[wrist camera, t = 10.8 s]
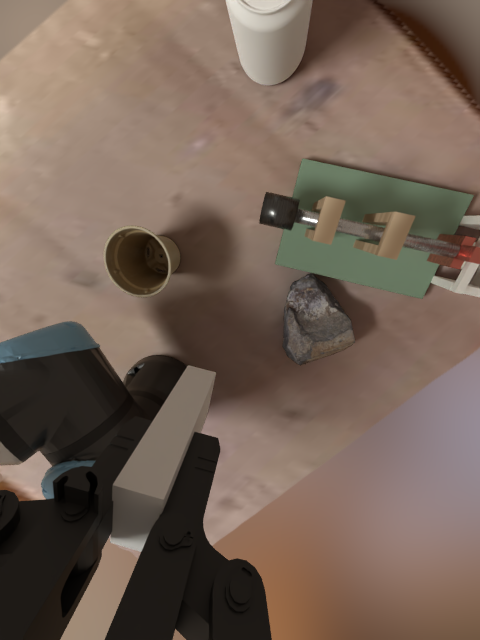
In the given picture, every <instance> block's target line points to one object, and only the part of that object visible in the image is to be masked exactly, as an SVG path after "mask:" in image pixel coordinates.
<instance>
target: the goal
mask: <svg viewBox="0 0 480 640" xmlns="http://www.w3.org/2000/svg"><path fill="white" fill-rule="evenodd" d="M459 226H464V227H469V228H473V229H478V230H480V216H463V218H462V220H461V222H460V224H459ZM475 247H480V237H479V239H478V240H477V242H476V244H475ZM478 266H479V264H476V263H471V262H467V261H466V263H465V265H464V267H463V269H462V270H461V272H460V274H459V276H458V278H457V280H453V279H448V278H444V277H440V276H435V275H434V277H433V279H432V281H431V283H433V284H435V285H438V286H440V287H443V288H445V289H448V290H451V291H453V292H456V293H460V294H468V295H472V296H476V297H480V266H479V268H478ZM477 268H478V270H477ZM476 270H477V271H476ZM475 272H476V273H475ZM474 273H475V275H474ZM473 275H474V277H473ZM472 277H473V279H472ZM471 279H472V280H471ZM470 281H471V282H470ZM469 282H470V283H469Z"/></svg>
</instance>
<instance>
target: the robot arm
mask: <svg viewBox="0 0 480 640" xmlns="http://www.w3.org/2000/svg"><path fill="white" fill-rule="evenodd" d="M99 347H100V345H99V344H97V343H96V342H95V341H94V340H93V338H92V337H91V336H90V334H89V333H88V332H87V330H86V329H85V328H84V327H83V326H82V325H81V324H79V323H77V322H72V321H68V322H62V323H58V324H55V325H51V326H48V327H45V328H42V329H39V330H36V331H33V332H30V333H27V334H24V335H21V336H18V337H15V338H12V339H9V340H6V341H4V342H1V343H0V465H19V464H21V463H23V462H24V461H26V460H27V459H28V458H30V457H31V456H32V455H34V454H35V453H36V452H38V451H40V452H41V453H42V454H43V455H44V456H45V458H46V459H47V460H48V461H49V462H50V464H51V465H52V467H51V468H49V469H48V470H47V472H46V473H45V476H44V478H43V480H42V483H41V487H42V488H43V489H42V492H43V495H44V497H45V498H46V500H33V501H19V500H18V498H17V496H16V495H15V493H13V492H10V491H8V490H0V640H60V639H61V637H62V635H63V633H64V631H65V629H66V627H67V625H68V623H69V621H70V619H71V618H72V616H73V614H74V612H75V610H76V608H77V606H78V604H79V602H80V600H81V598H82V596H83V595H84V592H85V591H86V589H87V587H88V585H89V583H90V581H91V579H92V577H93V575H94V573H95V571H96V570H97V567H98V565H99V562H100V560H101V556H102V549H103V547H104V545H105V543H106V541H107V540H108V538H109V536H110V534H111V541H110V542H111V543H114V544H117V545H120V546H124V547H127V548H130V549H133V550H137V551H140V552H141V554H140V556H139V559H138V561H137V564H136V566H135V568H134V571H133V573H132V576H131V578H130V580H129V583H128V585H127V587H126V590H125V592H124V595H123V597H122V599H121V602H120V604H119V607H118V609H117V611H116V614H115V616H114V619H113V621H112V623H111V626H110V628H109V631H108V633H107V636H106V638H105V640H172V639H173V635H174V631H175V629H176V630H177V631H179V633H180V634H181V635H182V636H183V637H184V638H185V639H186V640H272V638H271V631H270V624H269V616H268V609H267V602H266V594H265V589H264V585H263V582H262V578H261V576H260V575H259V573H258V572H257V570H256V568H255V567H254V566H252V565H251V564H250V563H249V562H247V561H245V560H241V559H233V560H227V559H226V558H225V557H224V556H222V555H221V554H220V553H219V552H218V551H216V550H215V549H214V548H213V547H212V546H211V545H210V543H209V542H208V540H207V538H206V536H205V532H204V529H203V518H204V513H205V509H206V505H207V501H208V497H209V493H210V490H211V486H212V482H213V478H214V474H215V470H216V466H217V462H218V458H219V454H220V445H219V440H218V438H216V437H212V436H208V435H205V434H201V431H202V428H203V425H204V423H205V420H206V417H207V414H208V410H209V405H210V401H211V396H212V391H213V386H214V381H215V376H216V372H213V371H209V370H205V369H201V368H197V367H194V366H190V365H188V366H186V365H184V364H183V363H181V362H180V361H178V360H176V359H173V358H170V357H166V356H149V357H146V358H143V359H141V360H140V361H138V362H137V363H136V364H135V365H134V366H133V367H132V368H131V369H130V370H129V371H128V373H127V374H126V376H125V378H124V381H123V382H122V381H121V379H120V378H119V376H118V375H117V373H116V372H115V370H114V369H113V367H112V366H111V364H110V363H109V361H108V360H107V358H106V357H105V355H104V354H103V352H102V351H101V350H100V348H99Z"/></svg>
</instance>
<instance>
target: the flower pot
mask: <svg viewBox="0 0 480 640" xmlns="http://www.w3.org/2000/svg"><path fill="white" fill-rule="evenodd" d="M148 248H149V249H150V251H149V256H148V254H147V249H148ZM160 255H162V257H160ZM104 264H105V268H106V271H107V273H108V275H109V277H110V279H111V280H112V281H113V283H114V284H115V285H116V286H117V287H118V288H119V289H120V290H122V291H123V292H125V293H127V294H129V295H132V296H136V297H150V296H153V295H156V294H157V293H159V292H160V291H162V290H163V289H164V288H165V286H166V285H167V283H168V281H169V279H170V276H171V274H172V273H173V272H175V271H176V269H177V268H178V266H179V264H180V252H179V249H178V247H177V246H176V244H175V243H174V242H173V241H172V240H171V239H169V238H167V237H165V236H159V235H155V234H154V233H153V232H151V231H150V230H148V229H146V228H143V227H139V226H125V227H122V228H119V229H117V230H116V231H114V232H113V233H112V234H111V235H110V237H109V238H108V240H107V242H106V244H105V248H104ZM157 269H160V270H164V272H159V271H158V270H157Z"/></svg>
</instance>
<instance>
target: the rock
mask: <svg viewBox="0 0 480 640" xmlns="http://www.w3.org/2000/svg"><path fill="white" fill-rule="evenodd" d="M353 343H355V337H354V334H353V329H352V324H351V320H350V319H349V317H348V316H347V315H346V314H345V313H344V311H343V309H342V308H341V306H340V305H339V303H338V301H337V300H336V299H335V298H334V296H333V295H332V293H331V292H330V290H329V289H328V288H327V286H326V285H325V284H324V283H323V282H322V281H319V279H317V278H316V277H315V276H314V275H313V274H312V273H311V274H308V275H306V276H305V277H303V278H301V279H300V280H298V281H295V282H293V283H292V285H291V287H290V291H289V293H288V296H287V302H286V306H285V309H284V341H283V348H284V350H285V352H286V354H287V356H288V357H289V358H291V359H292V360H293V361H295V362H296V363H297V364H299V365H302V364H306V363H308V362H311V361H314V360H317V359H319V358H323V357H326V356H329V355H332V354H335V353H337V352H339V351H342V350H344V349H346V348H347V347H349V346H351V345H352V344H353Z"/></svg>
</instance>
